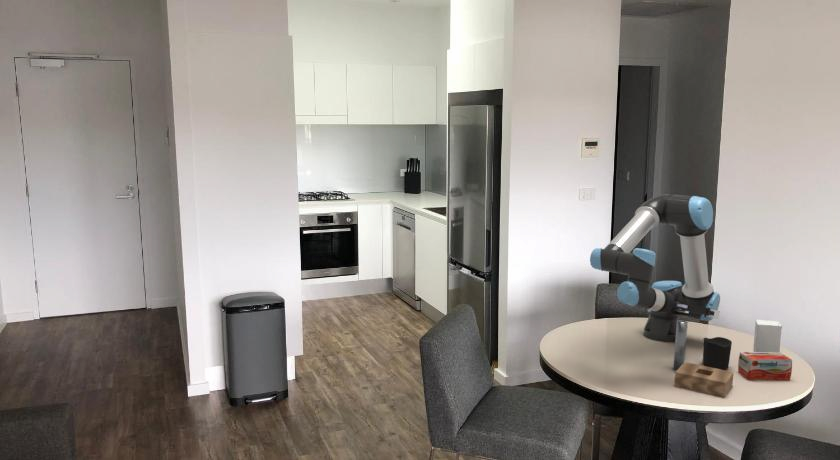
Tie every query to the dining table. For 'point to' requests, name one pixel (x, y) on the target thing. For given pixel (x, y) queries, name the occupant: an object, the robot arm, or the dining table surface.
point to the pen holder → (716, 352)
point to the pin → (680, 344)
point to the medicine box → (765, 366)
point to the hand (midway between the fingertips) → (703, 312)
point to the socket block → (704, 379)
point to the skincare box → (767, 336)
